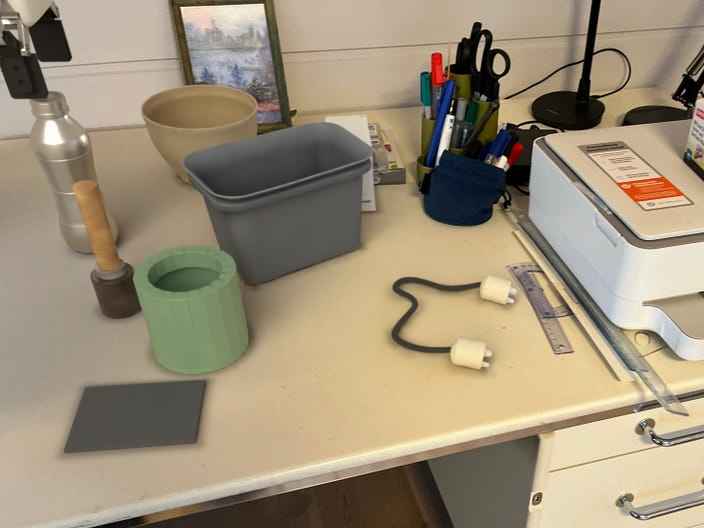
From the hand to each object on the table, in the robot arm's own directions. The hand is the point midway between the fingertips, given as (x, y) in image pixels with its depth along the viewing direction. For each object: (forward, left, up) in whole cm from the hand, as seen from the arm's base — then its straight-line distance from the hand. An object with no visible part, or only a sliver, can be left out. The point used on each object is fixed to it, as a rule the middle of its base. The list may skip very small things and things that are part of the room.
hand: (44, 78), depth 74 cm
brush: (+1, -2, -26) cm, 27 cm away
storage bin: (+20, +9, -27) cm, 35 cm away
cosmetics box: (+29, +24, -27) cm, 46 cm away
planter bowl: (+8, +32, -27) cm, 42 cm away
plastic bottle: (-5, +12, -27) cm, 29 cm away
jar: (+11, -10, -26) cm, 31 cm away
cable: (+39, -9, -27) cm, 49 cm away
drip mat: (+6, -21, -26) cm, 35 cm away
